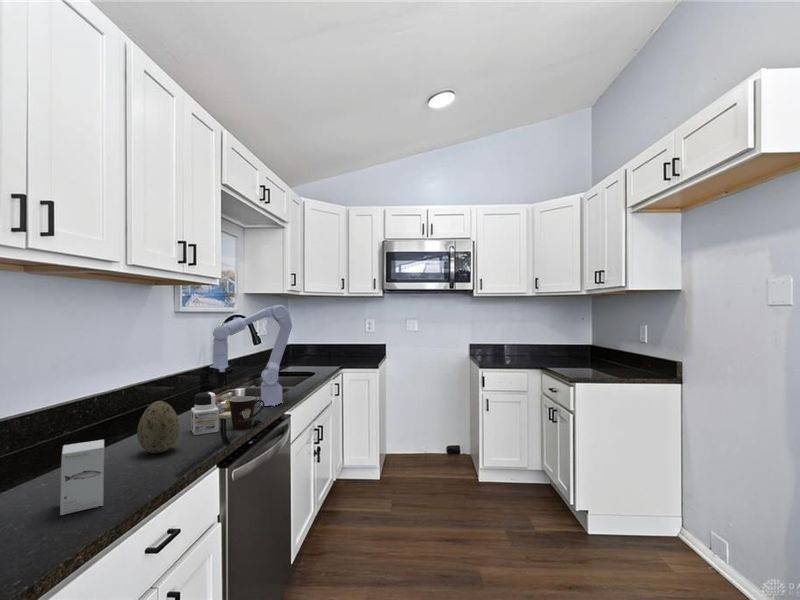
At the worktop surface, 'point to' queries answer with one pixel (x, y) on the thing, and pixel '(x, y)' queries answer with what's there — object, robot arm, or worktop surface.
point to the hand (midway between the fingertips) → (220, 387)
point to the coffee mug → (243, 412)
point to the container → (204, 414)
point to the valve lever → (223, 396)
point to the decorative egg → (158, 427)
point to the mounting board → (225, 414)
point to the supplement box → (82, 476)
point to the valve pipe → (224, 404)
